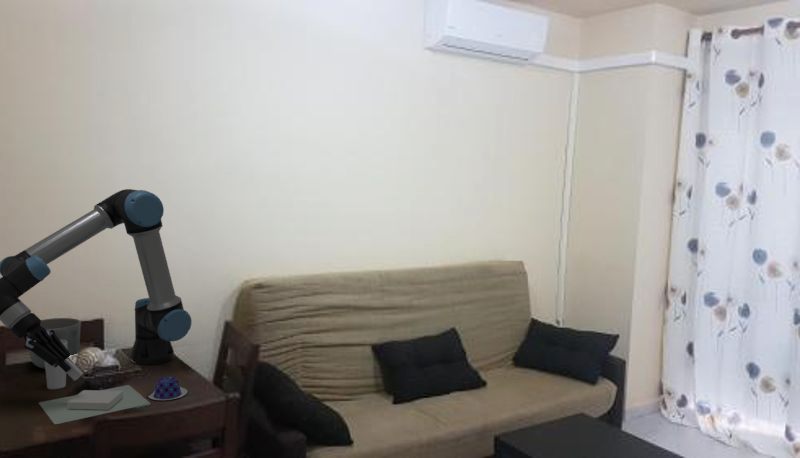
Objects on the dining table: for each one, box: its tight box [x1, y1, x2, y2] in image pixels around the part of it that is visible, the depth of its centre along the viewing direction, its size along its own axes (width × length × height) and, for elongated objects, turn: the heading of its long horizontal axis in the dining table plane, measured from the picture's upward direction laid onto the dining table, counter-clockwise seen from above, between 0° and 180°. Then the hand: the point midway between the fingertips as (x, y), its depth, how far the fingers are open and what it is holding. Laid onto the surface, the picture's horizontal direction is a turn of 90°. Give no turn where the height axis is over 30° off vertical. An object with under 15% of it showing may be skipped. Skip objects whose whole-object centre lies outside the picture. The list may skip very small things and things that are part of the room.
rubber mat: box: [38, 384, 152, 425], centre depth 188 cm, size 26×20×1 cm
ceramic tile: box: [67, 389, 123, 410], centre depth 188 cm, size 2×10×12 cm
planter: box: [28, 317, 82, 369], centre depth 222 cm, size 17×17×15 cm
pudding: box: [147, 376, 188, 401], centre depth 198 cm, size 12×12×5 cm
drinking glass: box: [44, 340, 68, 390], centre depth 200 cm, size 7×7×15 cm
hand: (79, 377), depth 187 cm, fingers closed
